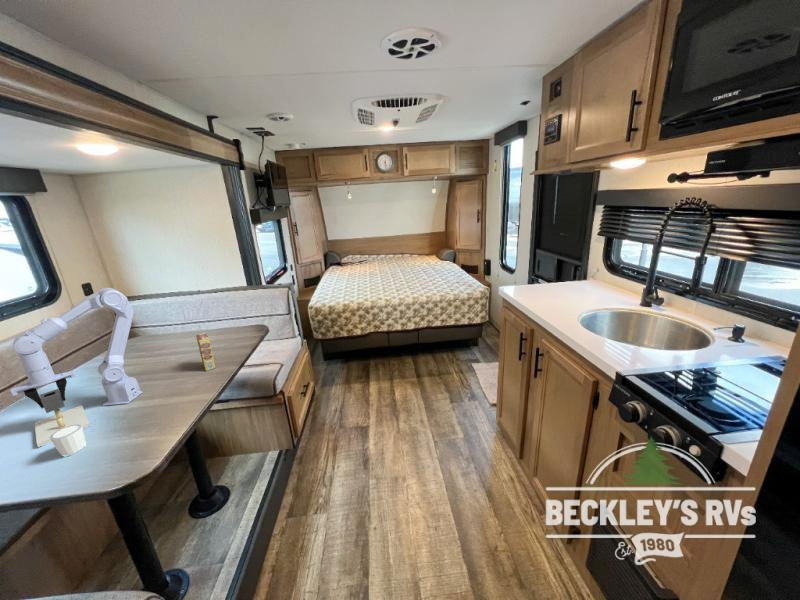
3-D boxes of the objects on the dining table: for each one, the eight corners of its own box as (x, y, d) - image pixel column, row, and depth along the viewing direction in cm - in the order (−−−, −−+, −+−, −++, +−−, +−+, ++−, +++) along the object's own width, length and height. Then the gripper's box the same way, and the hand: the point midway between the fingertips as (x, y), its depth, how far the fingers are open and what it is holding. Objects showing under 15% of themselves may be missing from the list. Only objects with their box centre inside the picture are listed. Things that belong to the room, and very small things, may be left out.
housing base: (36, 426, 108) (30, 414, 107) (83, 408, 117) (78, 397, 116) (38, 448, 97) (32, 434, 96) (90, 426, 106) (85, 414, 105)
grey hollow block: (45, 407, 108) (39, 394, 107) (63, 400, 111) (58, 388, 110) (46, 413, 105) (40, 400, 103) (65, 406, 108) (59, 394, 106)
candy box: (216, 367, 142) (208, 337, 138) (206, 371, 140) (197, 340, 136) (213, 361, 149) (205, 332, 145) (203, 364, 147) (195, 335, 142)
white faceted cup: (95, 441, 99) (88, 422, 97) (74, 457, 92) (65, 438, 90) (74, 443, 98) (65, 424, 97) (51, 459, 92) (42, 440, 90)
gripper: (67, 357, 112) (81, 389, 115) (4, 374, 101) (21, 410, 105) (69, 362, 107) (83, 396, 111) (4, 380, 97) (22, 417, 100)
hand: (53, 403), depth 108 cm, fingers closed on grey hollow block, 4 cm apart
